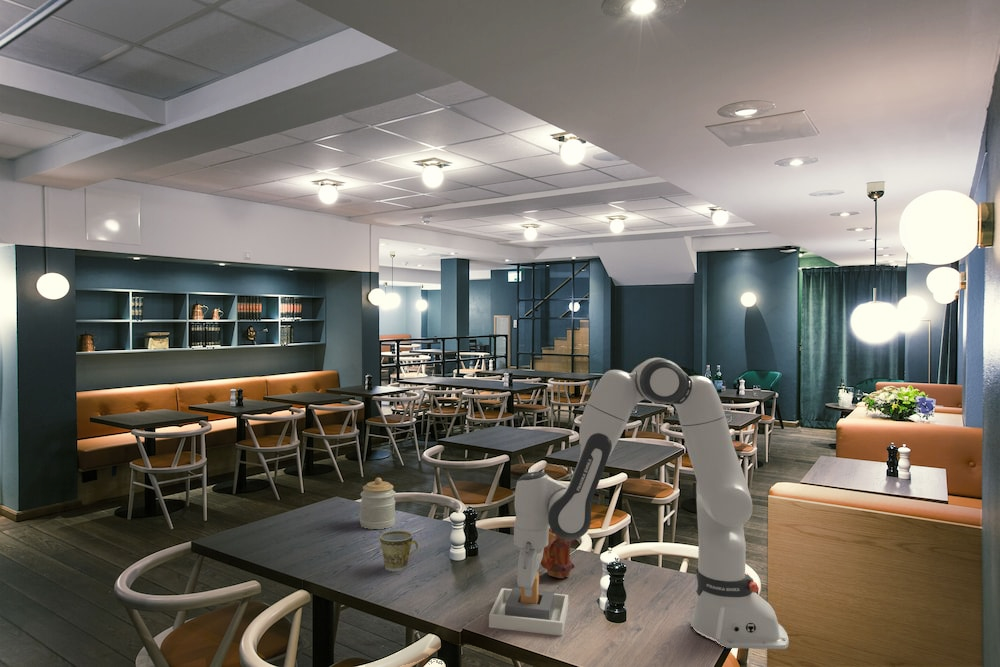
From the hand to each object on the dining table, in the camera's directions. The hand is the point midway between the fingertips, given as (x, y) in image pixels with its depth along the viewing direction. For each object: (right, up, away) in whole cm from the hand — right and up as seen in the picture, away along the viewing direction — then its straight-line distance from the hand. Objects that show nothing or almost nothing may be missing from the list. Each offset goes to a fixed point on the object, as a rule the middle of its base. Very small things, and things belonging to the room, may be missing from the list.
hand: (530, 590), depth 157 cm
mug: (+8, -8, +27) cm, 29 cm away
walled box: (0, -8, 0) cm, 8 cm away
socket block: (0, -7, 0) cm, 7 cm away
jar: (-53, -6, +74) cm, 91 cm away
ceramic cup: (-38, -7, +32) cm, 51 cm away
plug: (0, -4, 0) cm, 4 cm away
